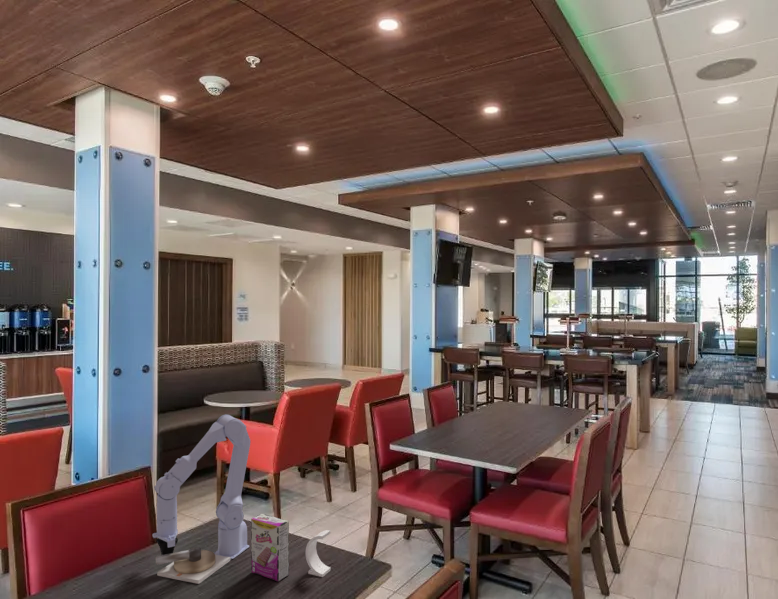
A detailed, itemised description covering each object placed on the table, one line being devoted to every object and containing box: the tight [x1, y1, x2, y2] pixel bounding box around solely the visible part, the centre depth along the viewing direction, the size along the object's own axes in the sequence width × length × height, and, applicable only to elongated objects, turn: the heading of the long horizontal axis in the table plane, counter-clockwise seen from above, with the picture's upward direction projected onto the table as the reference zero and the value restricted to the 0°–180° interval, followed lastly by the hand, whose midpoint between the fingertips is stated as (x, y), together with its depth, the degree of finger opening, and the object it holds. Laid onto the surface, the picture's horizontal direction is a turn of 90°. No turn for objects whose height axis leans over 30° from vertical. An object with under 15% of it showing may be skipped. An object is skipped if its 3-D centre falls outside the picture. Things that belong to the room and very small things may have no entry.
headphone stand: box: [305, 529, 332, 578], centre depth 161 cm, size 5×6×12 cm
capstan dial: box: [155, 546, 215, 574], centre depth 163 cm, size 17×12×4 cm
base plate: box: [156, 555, 231, 585], centre depth 164 cm, size 15×15×1 cm
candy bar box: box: [250, 513, 290, 582], centre depth 160 cm, size 11×5×16 cm, turn 59°
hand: (167, 562), depth 163 cm, fingers closed
